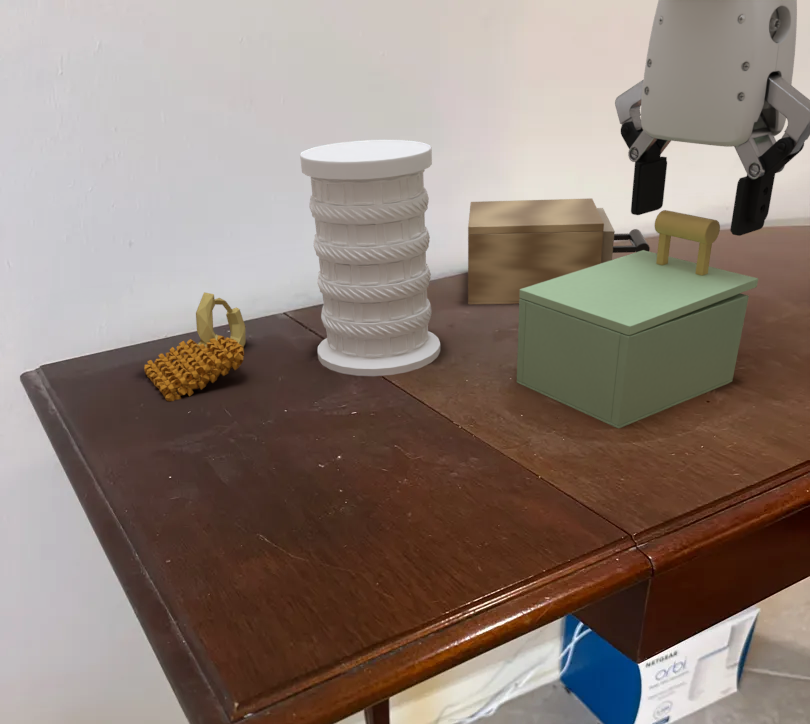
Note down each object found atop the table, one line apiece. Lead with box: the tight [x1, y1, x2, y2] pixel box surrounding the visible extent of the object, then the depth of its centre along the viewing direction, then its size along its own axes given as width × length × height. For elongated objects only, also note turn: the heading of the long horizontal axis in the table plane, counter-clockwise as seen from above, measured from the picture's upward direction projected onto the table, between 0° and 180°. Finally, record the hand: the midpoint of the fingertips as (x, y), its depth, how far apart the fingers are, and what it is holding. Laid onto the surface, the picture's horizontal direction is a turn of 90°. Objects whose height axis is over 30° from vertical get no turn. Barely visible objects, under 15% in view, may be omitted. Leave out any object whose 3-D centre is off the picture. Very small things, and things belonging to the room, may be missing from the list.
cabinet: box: [467, 197, 604, 305], centre depth 89 cm, size 14×12×9 cm
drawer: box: [596, 207, 651, 263], centre depth 89 cm, size 17×10×7 cm, turn 85°
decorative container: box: [299, 139, 441, 377], centre depth 72 cm, size 12×12×18 cm
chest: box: [516, 293, 750, 429], centre depth 67 cm, size 14×12×8 cm
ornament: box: [143, 292, 246, 402], centre depth 74 cm, size 7×10×15 cm
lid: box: [519, 209, 759, 335], centre depth 63 cm, size 14×12×5 cm
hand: (693, 221), depth 65 cm, fingers open, 9 cm apart
